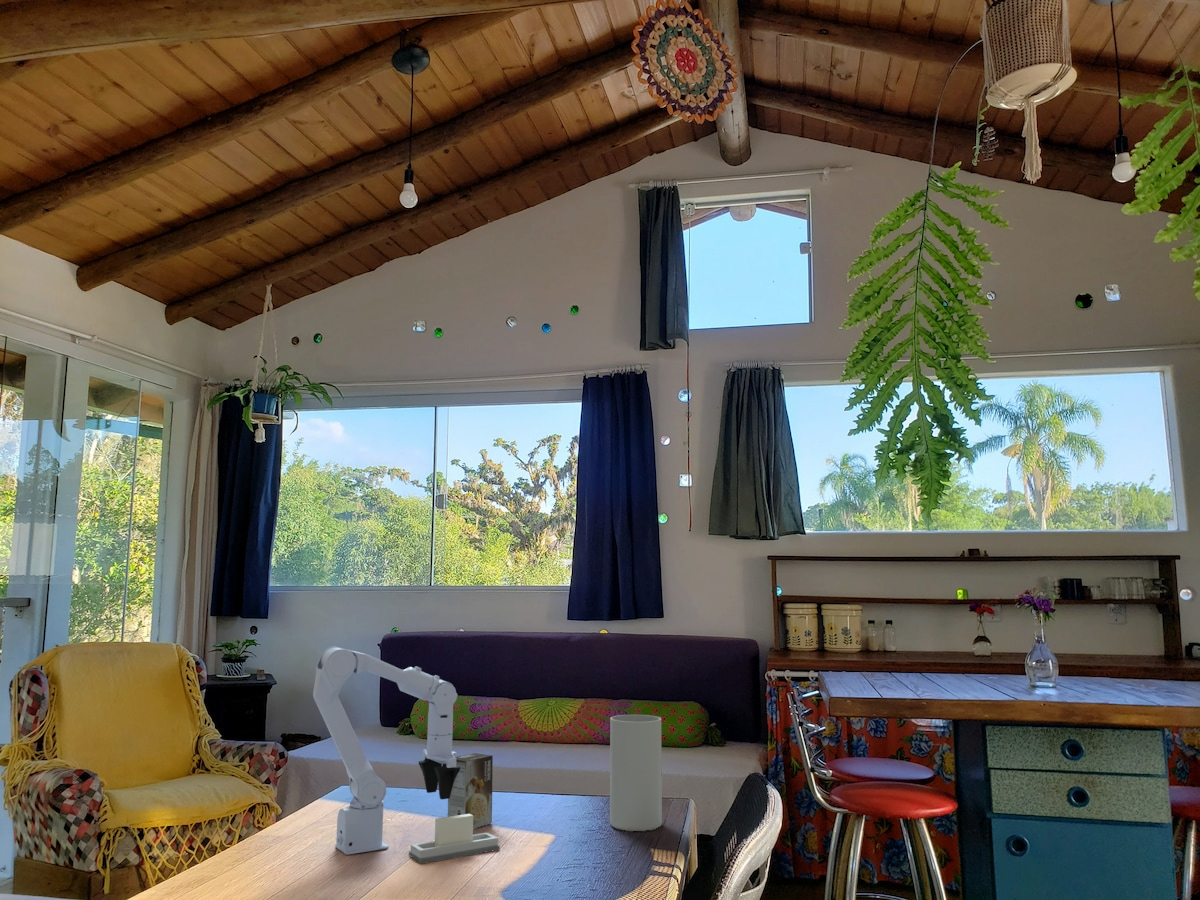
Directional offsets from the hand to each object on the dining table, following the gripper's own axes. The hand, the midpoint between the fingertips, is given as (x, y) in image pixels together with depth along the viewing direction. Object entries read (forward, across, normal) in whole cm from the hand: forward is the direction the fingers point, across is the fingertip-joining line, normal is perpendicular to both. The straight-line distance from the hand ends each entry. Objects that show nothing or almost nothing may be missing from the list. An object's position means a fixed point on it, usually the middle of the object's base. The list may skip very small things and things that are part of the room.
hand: (438, 795), depth 204 cm
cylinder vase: (+10, -15, -45) cm, 48 cm away
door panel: (+9, -12, +1) cm, 15 cm away
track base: (+9, -12, +1) cm, 15 cm away
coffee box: (+10, +6, -11) cm, 16 cm away
